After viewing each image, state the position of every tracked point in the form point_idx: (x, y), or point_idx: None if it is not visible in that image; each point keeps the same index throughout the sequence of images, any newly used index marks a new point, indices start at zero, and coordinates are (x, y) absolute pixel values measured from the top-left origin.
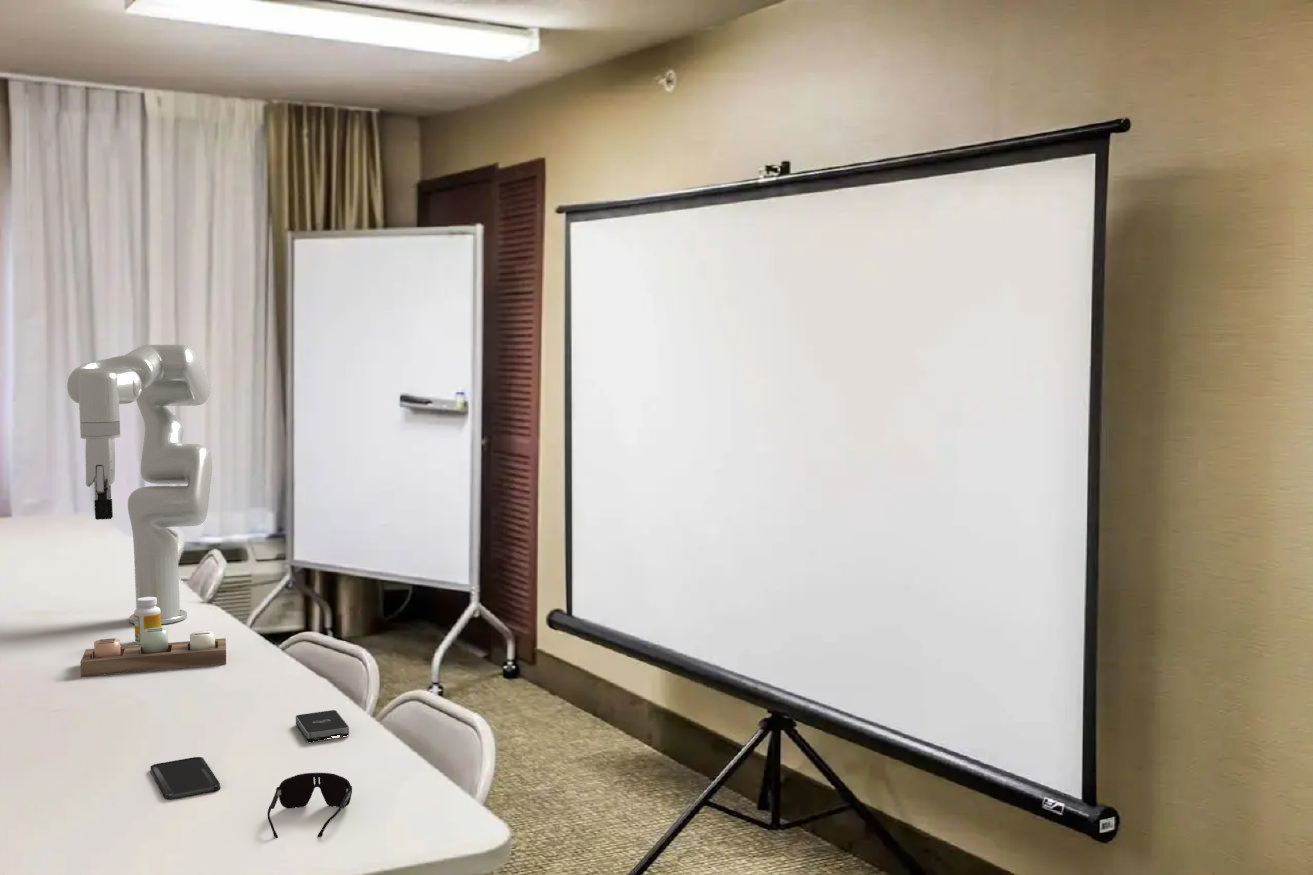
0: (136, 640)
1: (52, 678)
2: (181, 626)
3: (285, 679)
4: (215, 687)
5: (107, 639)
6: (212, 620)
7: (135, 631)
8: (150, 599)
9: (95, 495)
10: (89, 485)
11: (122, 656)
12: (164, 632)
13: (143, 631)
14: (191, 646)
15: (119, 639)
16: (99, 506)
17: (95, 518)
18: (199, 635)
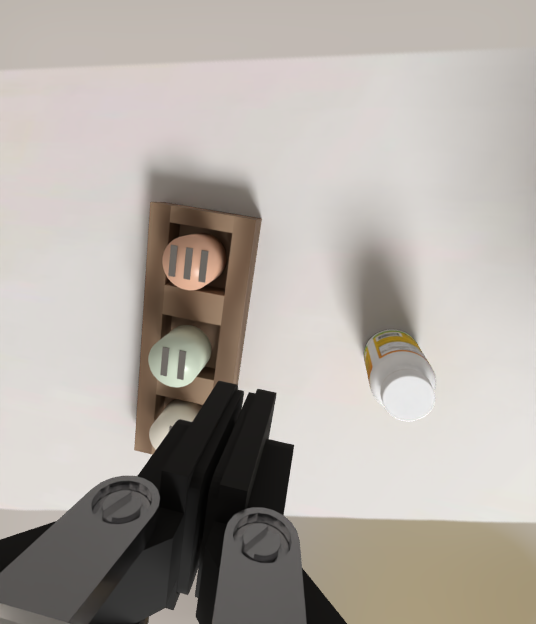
0: (384, 332)
1: (175, 147)
2: (505, 435)
3: (28, 479)
4: (17, 390)
5: (201, 266)
6: (522, 497)
7: (390, 337)
8: (387, 404)
9: (61, 520)
10: (34, 614)
11: (159, 283)
12: (156, 377)
13: (172, 340)
14: (171, 406)
15: (194, 289)
16: (151, 463)
17: (220, 381)
18: (160, 431)
